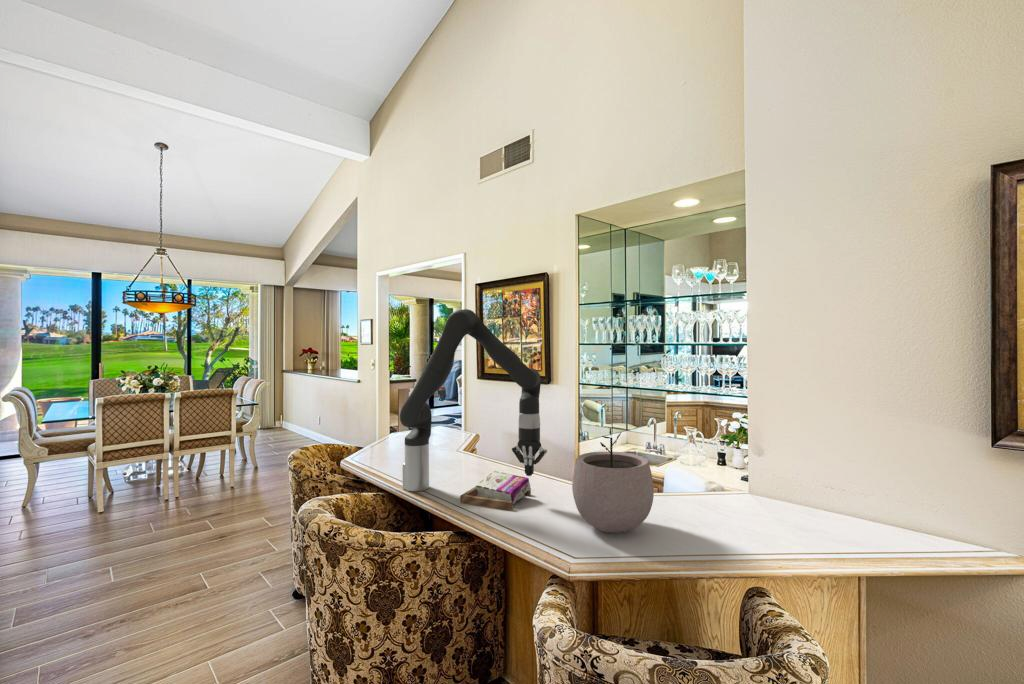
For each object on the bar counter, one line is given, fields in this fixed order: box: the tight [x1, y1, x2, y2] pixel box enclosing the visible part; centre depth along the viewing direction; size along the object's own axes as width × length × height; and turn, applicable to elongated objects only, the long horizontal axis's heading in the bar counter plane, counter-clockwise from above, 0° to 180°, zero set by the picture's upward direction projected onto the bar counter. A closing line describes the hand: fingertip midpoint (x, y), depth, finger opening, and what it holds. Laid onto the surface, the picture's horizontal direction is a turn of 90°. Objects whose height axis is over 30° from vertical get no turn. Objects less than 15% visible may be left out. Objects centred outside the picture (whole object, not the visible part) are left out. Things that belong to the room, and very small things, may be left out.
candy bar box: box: [475, 470, 532, 506], centre depth 170 cm, size 11×5×16 cm
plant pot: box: [571, 427, 655, 534], centre depth 141 cm, size 24×24×30 cm
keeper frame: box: [459, 486, 532, 511], centre depth 169 cm, size 20×18×2 cm
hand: (529, 475), depth 164 cm, fingers closed
